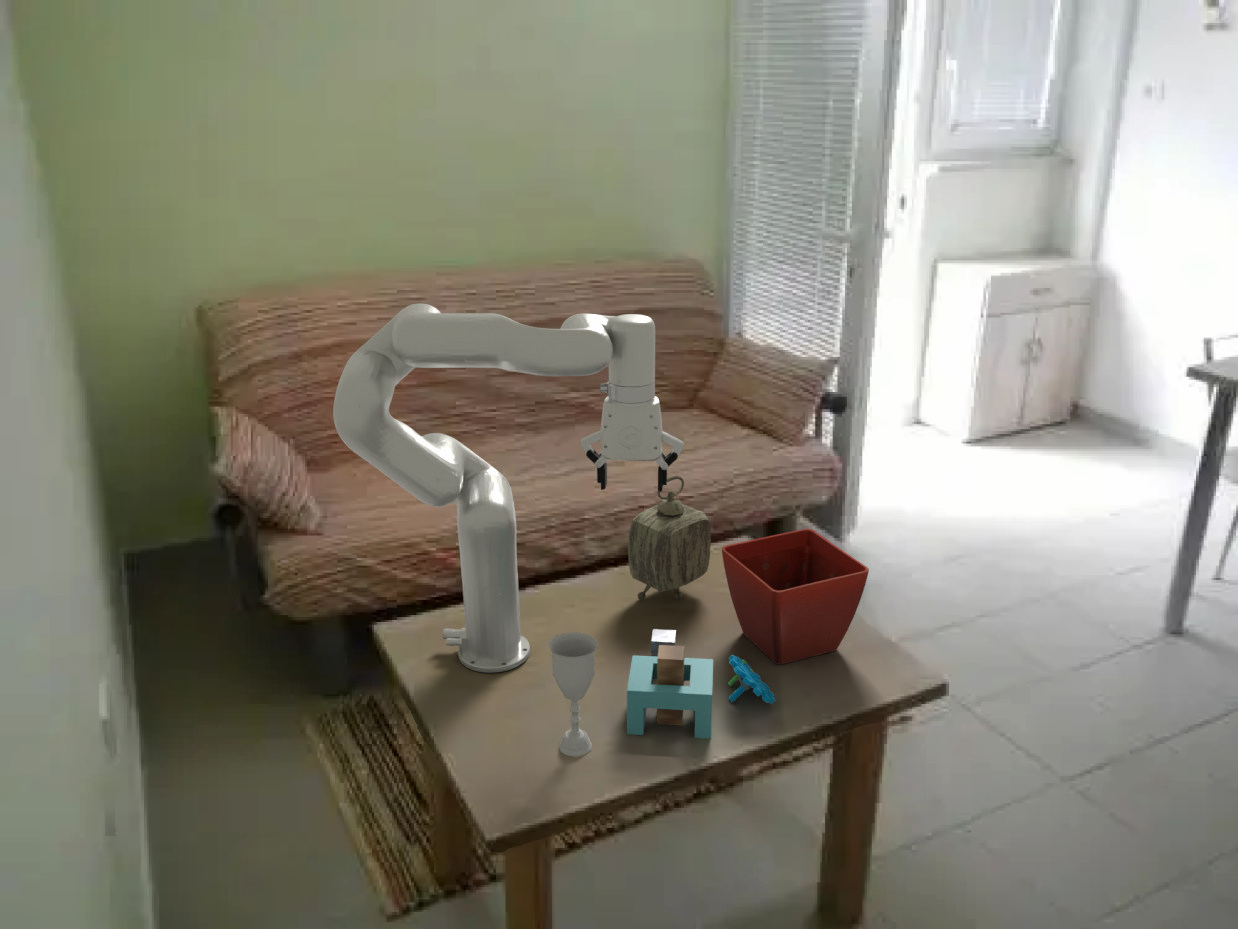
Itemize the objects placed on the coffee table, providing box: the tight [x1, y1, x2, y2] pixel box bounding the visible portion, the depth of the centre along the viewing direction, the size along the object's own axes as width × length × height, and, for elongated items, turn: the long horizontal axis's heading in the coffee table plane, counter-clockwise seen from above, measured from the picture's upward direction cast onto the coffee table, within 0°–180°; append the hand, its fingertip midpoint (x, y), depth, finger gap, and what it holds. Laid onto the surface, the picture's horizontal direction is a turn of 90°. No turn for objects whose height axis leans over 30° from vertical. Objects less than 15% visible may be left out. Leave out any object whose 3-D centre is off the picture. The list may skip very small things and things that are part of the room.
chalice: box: [547, 631, 599, 757], centre depth 155 cm, size 7×7×18 cm
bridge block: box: [626, 654, 714, 739], centre depth 163 cm, size 13×10×8 cm
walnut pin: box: [656, 645, 685, 726], centre depth 163 cm, size 4×4×12 cm
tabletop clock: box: [627, 475, 712, 601], centre depth 198 cm, size 14×9×25 cm, turn 133°
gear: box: [727, 654, 777, 705], centre depth 169 cm, size 11×6×10 cm
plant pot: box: [721, 528, 870, 665], centre depth 183 cm, size 19×19×17 cm
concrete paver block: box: [650, 628, 677, 657], centre depth 178 cm, size 4×4×6 cm
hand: (632, 487), depth 175 cm, fingers open, 9 cm apart
